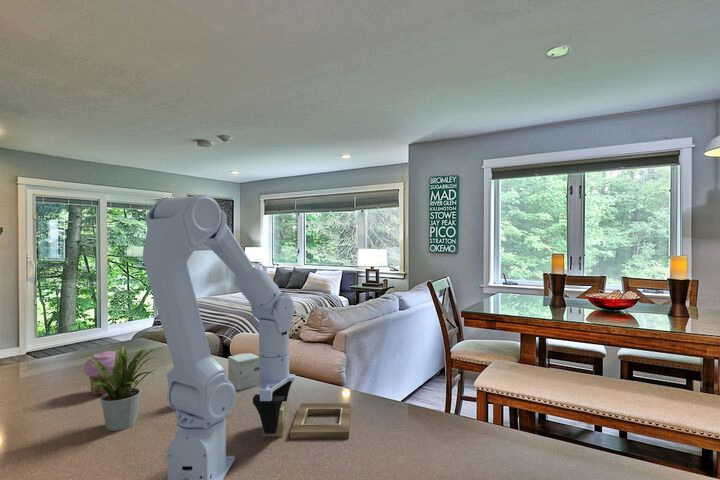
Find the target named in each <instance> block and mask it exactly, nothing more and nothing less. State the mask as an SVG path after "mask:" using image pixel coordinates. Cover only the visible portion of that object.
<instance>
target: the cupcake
mask: <svg viewBox="0 0 720 480" xmlns="http://www.w3.org/2000/svg"><path fill="white" fill-rule="evenodd" d="M115 356H116V351H115V350H113V351H112V350H109V351H103V352H98V353H95V354H93V355H92V356H91V357H92V358H94V359H96V360H98V361H99V362H100V363H102V364H103V365H104V367H105V368H106V369H107V371H108V372H109V374H110V375H111V377H112V378H113V379H114V377H113V372H112V370H113V367H114V365H115ZM91 364H92V365H91ZM93 365H95V366H97V365H96V364H95V363H94V362H93V361H92V360H91V359H89V358H88V359H87V361H86V362H85V364H84V369H83V372H84V374H86V375H87V376H88V378H89V380H90V382H93V381H100V382H102V381H101V380H100V379H99V375H98V373H100V374H101V375H102V376H103V377H104V378H105V379H106V380H107V382H108V383H109V384H110V385H111V386H112V388H113V389H114V390H115V388H114V387H113V385H112V384H111V383H110V381H109V380H108V378H107V377H106V376H105V375H104V374H103V372H101V371H100V370H99V369H100V368H99V367H98V366H97V367H98V368H99V369H98V368H96V367H95V366H93ZM97 372H98V373H97ZM102 383H103V382H102ZM92 386H93V384H91V383H90V390H91V393H92V394H93V395H95V396H97V395H98V396H99V395H104V394H106V393H107V392H106V391H105V390H104V389H103V388H101V387H99V386H95V387H92ZM91 387H92V388H91Z"/></svg>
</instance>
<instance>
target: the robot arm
mask: <svg viewBox="0 0 720 480" xmlns="http://www.w3.org/2000/svg"><path fill="white" fill-rule="evenodd" d="M144 221H145V224H146V227H147V228H146V229H147V230H146V234H145V241H144V244H143V245H144V246H143V252H142V262H143V265H144V269H145V272H146V276H147V279H148V282H149V285H150V289H151V292H152V295H153V299H154V304H155V306H156V309H157V312H158V316H159V320H160V324H161V326H162V330H163V333H164V334H163V335H164V336H165V337H164V338H165V341H166V344H167V346H168V351H169V354H170V357H171V361H172V364H173V367H171V369H169V371H168V372H167V373H166V379H167V383H168V387H167V393H166V394H167V395H166V400H167V403H168V406H169V407H170V408H172V410H175V411H174V412H175V413H174V414H175V416H174V417H175V418H176V432H175V433H176V434H175V436H174V438H173V440H172V442H171V443H170V445H169V446H168V448H167V449H168V450H167V452H166V453H167V454H166V464H167V465H166V469H167V472H166V473H167V475H166V477H167V480H224V479H225V477H226V475H227V473H228V472H229V470H230V468H231V467H232V465H233V463H234V461H235V459H236V457H235V456H233V455H228V456H227V433H226V432H227V427H226V425H227V423H226V421H227V420H226V419H228V418H229V415H230V413H231V411H232V410H233V408H234V405H235V403H236V396H237V392H236V389H235V387H234V385H233V383H232V382H230V381H229V380H228V376H227V373H226V371H225V370H226V369H224V367H223V366H222V365H221V364H220V363H219V362H218V361H217V360H216V359H215V358H214V357H212V356H213V355H212V353H211V350H210V349H211V348H210V345H209V342H208V337H207V334H206V331H205V327H204V324H203V323H204V322H203V319H202V315H201V312H200V308H199V304H198V300H197V297H196V293H195V291H194V286H193V282H192V278H191V274H190V271H189V267H188V264H187V263H188V261H189V259H190V257H191V256H192V255H193V253H194V252H195V251H196V250H197V249H198V248H199V247H201V246H202V245H206V246H208V248H210V250H211V251H212V252H213V253H214V254H215V255H216V256H217V257H218V258H219V259H220V261H222V262H223V263H224V264H225V265H226V266H227V268H228V269H229V270H230V271H231V272H232V273H233V274H234V279H233V282H234V283H233V284H234V285H235V286H236V288H237V289H238V290H239V292H241V294H242V295H243V296H244V297H245V299H246V300H247V302H249V304H250V313H251V314H252V317H254V318H256V319H257V320H258V357H259V377H258V382H259V385H258V386H259V393H258V394H257V393H256V394H254V395H253V397H252V405H254V407H255V409H256V410H257V413H258V415H259V417H260V418H259V419H260V421H261V427H262V426H263V430H264V433H265V434H276V431H277V427H278V420H279V413H280V408H281V405H282V402H284V401H287V402H288V396H289V393H290V392H289V391H290V389H291V386H292V383H293V381H295V380H296V374H293V373H290V330H291V328H292V319H293V317H294V315H295V312H296V305H294V300H293V298H292V297H291V296H290V295H289V294H288V293H286V292H282V291H281V289H280V288H279V285H278V284H277V283H276V282H275V281H274V280H273V278H272V277H271V276H270V275H269V274H268V272H267V271H268V269H267V267H265V265H262V264H260V263H256V262H255V263H253V262H251V260H250V258H249V257H248V256H247V254H246V252H245V251H244V249H243V247H242V246H241V244H240V243H239V241H238V240H237V238H236V237H235V235H234V234H233V232H232V231H231V229H230V228H229V226H228V225H227V214H226V213H225V212H224V211H223V210H222V209H221V207H220V205H219V203H218V202H217V201H216V200H215V198H214V197H211V196H210V195H208V194H202V193H201V194H195V195H192V196H183V197H182V196H181V197H164V198H161V199H159V200H157V201H156V202H155V203H154V204H153V205H152V207H151V208H150V209H149V210H148V212H147V213H146V214H145V215H144Z"/></svg>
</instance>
